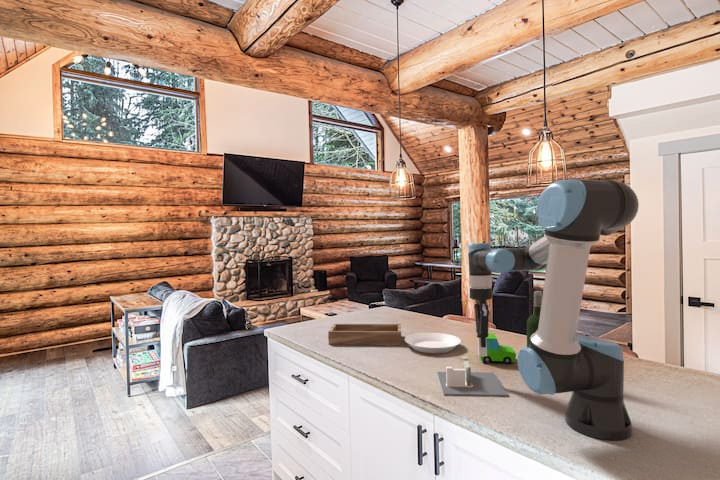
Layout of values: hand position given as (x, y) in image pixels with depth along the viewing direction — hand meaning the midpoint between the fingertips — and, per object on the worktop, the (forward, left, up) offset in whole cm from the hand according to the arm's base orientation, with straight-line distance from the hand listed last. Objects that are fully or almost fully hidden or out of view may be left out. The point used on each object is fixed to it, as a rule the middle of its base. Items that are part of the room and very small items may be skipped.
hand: (482, 355), depth 138 cm
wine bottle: (+8, -21, -9) cm, 24 cm away
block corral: (+52, +45, -9) cm, 69 cm away
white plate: (+41, +14, -10) cm, 44 cm away
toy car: (+23, -10, -9) cm, 27 cm away
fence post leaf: (-5, +9, -9) cm, 14 cm away
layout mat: (-2, +5, -9) cm, 10 cm away
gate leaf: (+1, +5, -8) cm, 10 cm away
